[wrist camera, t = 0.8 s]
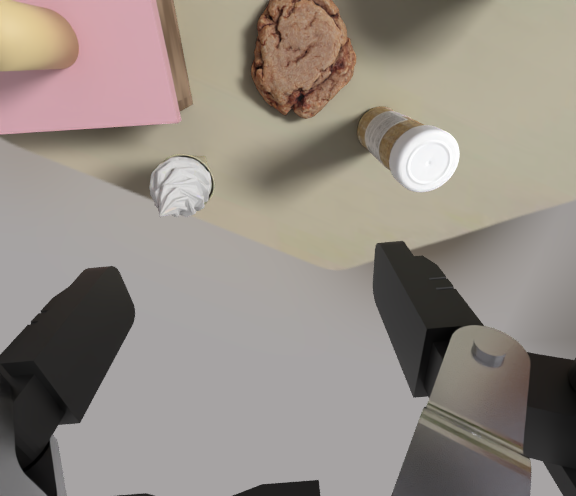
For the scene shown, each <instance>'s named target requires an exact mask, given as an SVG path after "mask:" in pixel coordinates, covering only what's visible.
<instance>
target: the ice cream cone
mask: <svg viewBox="0 0 576 496" xmlns="http://www.w3.org/2000/svg"><path fill="white" fill-rule="evenodd" d="M214 188H215V184H214V178H213V175H212V173H211V171H210V170H209V167H208V164H207V161H206V158H205V157H204V156H191V155H186V154H177V155H173V156H170V157H168V158H166V159H165V160H164V161H163V162H162V163H161V164H160V165H158V167H157V168H156V169H155V170H154V171H153V172H152V174H151V181H150V188H149V189H150V195H151V197H152V198H153V200H154V202H155V206H156V207H157V208H158V211H159V216H160V217H162V216H167V215H172V216H174V217H179V215H182V216H184V217H188V216H191V215H193V214H195V213H196V211H199V210H201V209H203V208H204V205H205V204H206V203H207V202H208V201H209V200H210V199H211V197H212V196H213V193H214Z"/></svg>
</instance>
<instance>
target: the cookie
mask: <svg viewBox="0 0 576 496" xmlns="http://www.w3.org/2000/svg"><path fill="white" fill-rule="evenodd" d="M257 30H258V36H257V41H256V48H255V50H254V54H255V59H254V61H253V64H252V67H251V75H252V79H253V81H254V83H255V85H256V88H257V90H258V91H259V93H260V94H261V95H262V97H263V98H264V100H265V101H266V102H267V103H268V104H269V105H270V106H272V107H274V108H276V109H277V110H278V111H279V112H280V113H282V114H283V115H286V114H287V113H288V112H289V110H290V109H293V110H294V112H295V113H296V114H297V115H298V116H300V117H302V118H305V119H307V118H311V117H313V116H315V115H316V114H317V113H318V112H319V111H321V110H322V108H323V107H324V106H325V105H326V104H327V103H328V102H329V100H331V99H332V98H333V97H334V96H335V95H336V94H337V93H338V92H339V90H340V89H341V88H343V87H344V86H345V85H346V84H347V83H348V82H349V81H350V79H351V78H352V76H353V70H354V66H355V64H356V54H355V52H354V51H353V48H352V45H351V41H350V38H348V37H347V29H346V25H345V24H344V22H343V20H342V19H341V18H340V14H339V9H338V7H337V6H336V5H335V4H334V2H333V1H332V0H270V1H269V4H268V6H267V7H266V9H265V10H264V12H263V14H262V15H261V16H260V18H259V20H258V23H257Z"/></svg>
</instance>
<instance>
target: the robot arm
mask: <svg viewBox="0 0 576 496" xmlns="http://www.w3.org/2000/svg"><path fill="white" fill-rule="evenodd" d="M373 294H374V299H375V303H376V306H377V308H378V310H379V313H380V315H381V318H382V320H383V323H384V325H385V328H386V330H387V333H388V335H389V338H390V340H391V343H392V345H393V347H394V350H395V353H396V355H397V358H398V360H399V363H400V365H401V368H402V370H403V373H404V375H405V378H406V380H407V382H408V385H409V387H410V390H411V392H412V395H413V397H425V396H428V397H429V401H428V404H427V406H426V407H424V409H423V412H422V414H421V416H420V419H419V421H418V424H417V427H416V430H415V432H414V435H413V438H412V441H411V444H410V446H409V449H408V451H407V454H406V457H405V460H404V462H403V465H402V468H401V471H400V473H399V476H398V479H397V482H396V484H395V487H394V490H393V493H392V495H391V496H530V490H531V462H530V459H529V458H533V459H536V460H540V461H543V462H544V464H545V466H546V467H547V469H548V470H549V473H550V474H551V476H552V478H553V479H554V481H555V483H556V484H557V486H558V488H559V489H560V491H561V492H562V494H563V496H576V358H575V360H570V359H563V358H557V357H552V356H546V355H539V354H534V353H529V352H526V350H525V349H524V348H523V346H522V345H520V344H519V343H518V342H517V341H516V340H515V339H513V338H512V337H510V336H509V335H507V334H505V333H503V332H501V331H499V330H496V329H494V328H490V327H486V326H484V325H483V324H482V323H481V321H480V320H479V319H478V317H477V316H476V315H475V314H474V312H473V311H472V310H471V308H470V307H469V306H468V304H467V303H466V302H465V301H464V299H463V298H462V297H461V295H460V294H459V293H458V291H457V290H456V289H454V288H453V285H452V284H451V282H450V281H449V280H448V279H446V276H445V275H444V273H443V272H442V271H441V269H440V268H439V267H438V266H437V265H436V264H435V263H433V262H432V261H430V260H428V259H427V258H425V257H424V256H413V254H412V253H411V251H410V250H409V248H408V247H407V246H406V244H405V243H404V242H403V241H396V242H385V243H377V245H376V248H375V260H374V275H373ZM134 317H135V308H134V304H133V302H132V300H131V297H130V295H129V293H128V291H127V288H126V286H125V284H124V281H123V279H122V277H121V275H120V272H119V271H118V269H117V268H115V267H113V266H110V267H98V268H88V269H85V270H84V271H83V272H82V273H81V274H80V275H79V276H78V277H77V279H76V280H75V281H74V282H73V283H72V284H71V285H70V286H69V287H68V288H66V289H65V290H64V291H62V292H61V293H59V294H58V295H57V296H55V297H53V298H52V299H51V301H50V302H49V303H48V304H47V305H46V306H45V307H44V308H43V309H42V310H41V313H39V314H38V315H37V316H36V317H35V318H34V319H33V320H32V321H31V325H27V326H26V328H25V329H24V330H23V331H22V332H21V333H20V334H19V335H18V336H17V337H16V338H15V339H14V340H13V342H12V343H11V344H10V345H9V346H8V347H7V348H6V349H5V350H4V351H3V352H2V354H1V355H0V496H67V495H66V490H65V483H64V477H63V471H62V465H61V459H60V453H59V447H58V442H57V439H56V438H55V437H54V435H53V433H54V431H55V429H56V428H57V426H58V425H62V424H75V423H80V422H81V420H82V418H83V416H84V414H85V412H86V411H87V409H88V407H89V405H90V403H91V401H92V399H93V398H94V395H95V394H96V392H97V390H98V388H99V386H100V384H101V383H102V381H103V379H104V377H105V375H106V373H107V371H108V369H109V367H110V366H111V364H112V362H113V360H114V358H115V356H116V355H117V353H118V351H119V349H120V347H121V345H122V343H123V341H124V340H125V338H126V336H127V334H128V332H129V330H130V328H131V327H132V324H133V322H134ZM119 496H153V495H150V494H134V495H133V494H132V495H119ZM233 496H320V489H319V481H318V480H315V481H301V482H288V483H275V484H262V485H259V486H257V487H254V488H252V489H249V490H246V491H244V492H241V493H239V494H236V495H233Z"/></svg>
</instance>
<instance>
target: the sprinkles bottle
mask: <svg viewBox="0 0 576 496" xmlns="http://www.w3.org/2000/svg"><path fill="white" fill-rule="evenodd" d="M357 133H358V139H359V141H360V143H361V144H362V145H363V146H364V147H365V148H367V149H368V150H369V151H370V152H371V153H372V154H373V155H374V156H375V157H376V158H377V159H378V160H379V161H380V162H381V163H382V164H383V165H384V166H385V167H386V168H387V169H389V170H390V171H391V173H392V175H393V177H394V178H395V179H396V180H397V181H398V182H399V183H400V184H401V185H402V186H404V187H405V188H407V189H408V190H411V191H414V192H427V191H431V190H434V189H436V188H438V187H440V186H441V185H443V184H444V183H445V182H446V181H447V180H448V179H449V178H450V177H451V176H452V175H453V173H454V171H455V170H456V168H457V165H458V162H459V147H458V144H457V142H456V140H455V139H454V137H453V136H452V135H451V134H449V133H448V132H446V131H444V130H442V129H440V128H437V127H435V126H430V125H423V124H421V123H419V122H418V121H415V120H413V119H411V118H410V117H408V116H405V115H403V114H401V113H398V112H395V111H393V110H392V109H390V108H388V107H375V108H372V109H370V110H369V111H368V112H366V113H365V114H364V115H363V116H362V118H361V120H360V121H359V125H358V130H357Z"/></svg>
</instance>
